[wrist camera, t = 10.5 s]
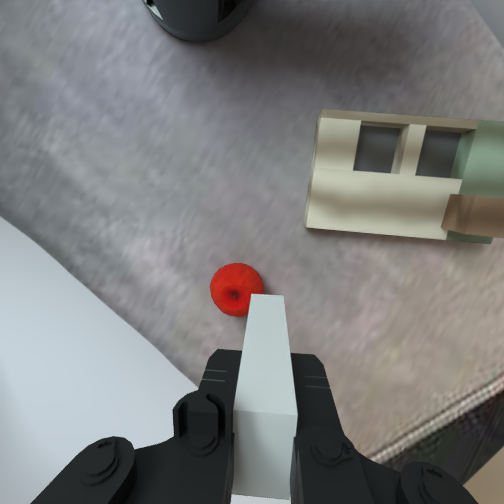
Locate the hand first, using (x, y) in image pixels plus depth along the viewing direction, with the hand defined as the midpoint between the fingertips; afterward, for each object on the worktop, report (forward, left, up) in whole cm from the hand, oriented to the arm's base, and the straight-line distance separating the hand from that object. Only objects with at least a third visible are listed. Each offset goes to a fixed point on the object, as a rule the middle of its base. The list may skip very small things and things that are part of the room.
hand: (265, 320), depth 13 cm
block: (-5, +25, -25) cm, 36 cm away
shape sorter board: (-8, +18, -28) cm, 34 cm away
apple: (+9, -4, -29) cm, 30 cm away
